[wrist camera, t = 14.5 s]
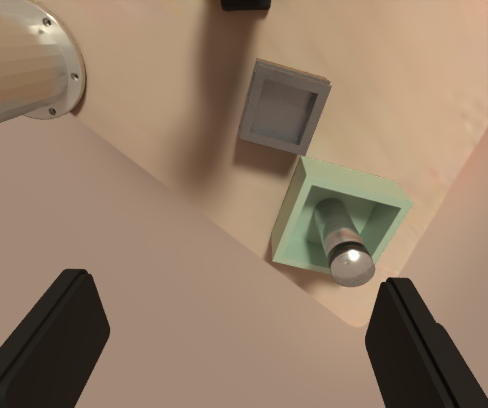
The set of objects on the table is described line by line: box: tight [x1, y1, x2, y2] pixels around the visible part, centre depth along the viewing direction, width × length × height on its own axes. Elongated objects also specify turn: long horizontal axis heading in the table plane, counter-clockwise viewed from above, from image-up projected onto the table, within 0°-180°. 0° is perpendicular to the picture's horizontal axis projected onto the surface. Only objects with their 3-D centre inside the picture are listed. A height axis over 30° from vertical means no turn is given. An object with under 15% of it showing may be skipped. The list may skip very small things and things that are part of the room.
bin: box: [271, 156, 414, 275], centre depth 40 cm, size 13×13×6 cm
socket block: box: [238, 58, 332, 156], centre depth 34 cm, size 8×8×5 cm
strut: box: [313, 198, 375, 287], centre depth 37 cm, size 4×4×12 cm
